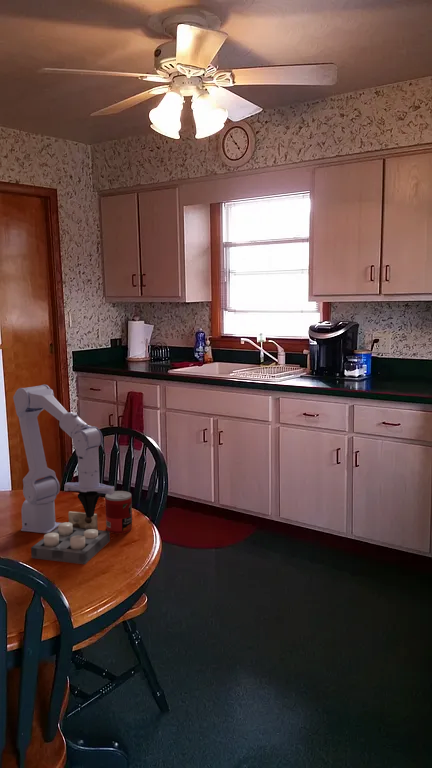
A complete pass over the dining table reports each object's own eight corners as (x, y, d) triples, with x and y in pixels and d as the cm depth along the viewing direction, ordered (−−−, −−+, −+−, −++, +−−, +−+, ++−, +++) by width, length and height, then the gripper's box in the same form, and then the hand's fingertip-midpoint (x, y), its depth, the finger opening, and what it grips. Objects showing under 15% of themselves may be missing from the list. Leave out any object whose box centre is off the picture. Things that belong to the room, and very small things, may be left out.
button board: (31, 558, 168) (31, 547, 167) (60, 535, 183) (60, 526, 182) (85, 564, 164) (84, 553, 163) (110, 540, 179) (109, 531, 178)
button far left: (56, 536, 176) (55, 526, 176) (62, 530, 180) (62, 521, 180) (68, 537, 175) (68, 528, 175) (75, 532, 179) (74, 523, 179)
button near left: (41, 547, 169) (41, 537, 168) (48, 541, 172) (48, 532, 172) (54, 548, 168) (54, 538, 167) (61, 542, 171) (61, 533, 171)
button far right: (81, 543, 175) (81, 533, 174) (88, 537, 178) (87, 528, 178) (94, 544, 174) (94, 535, 173) (100, 539, 177) (100, 529, 177)
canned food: (127, 535, 183) (126, 499, 182) (102, 533, 185) (101, 498, 183) (135, 525, 191) (135, 491, 189) (111, 523, 192) (110, 489, 191)
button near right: (67, 550, 167) (67, 540, 166) (74, 544, 170) (74, 534, 170) (81, 551, 166) (80, 541, 165) (88, 545, 169) (87, 536, 169)
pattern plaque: (68, 533, 185) (68, 512, 184) (70, 531, 186) (69, 511, 185) (96, 536, 183) (95, 515, 182) (97, 534, 184) (97, 513, 183)
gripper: (58, 472, 171) (60, 518, 173) (106, 476, 167) (107, 523, 169) (70, 465, 177) (72, 510, 180) (116, 469, 174) (118, 514, 176)
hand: (90, 516), depth 175 cm, fingers closed
